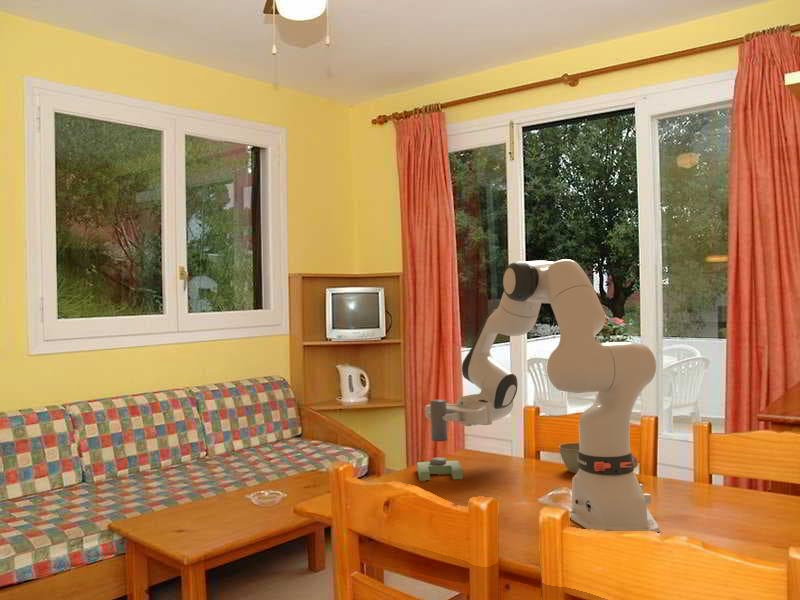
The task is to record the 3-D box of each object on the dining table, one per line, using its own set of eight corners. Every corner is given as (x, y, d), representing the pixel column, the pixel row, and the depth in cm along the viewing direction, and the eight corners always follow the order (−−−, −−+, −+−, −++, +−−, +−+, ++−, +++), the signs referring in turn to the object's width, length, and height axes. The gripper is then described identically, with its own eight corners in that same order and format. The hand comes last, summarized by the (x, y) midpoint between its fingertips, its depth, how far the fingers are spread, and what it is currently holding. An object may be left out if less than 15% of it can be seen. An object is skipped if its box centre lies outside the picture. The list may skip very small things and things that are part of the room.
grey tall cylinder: (448, 441, 200) (446, 401, 200) (432, 441, 200) (430, 402, 200) (446, 437, 205) (445, 399, 205) (430, 438, 205) (429, 399, 204)
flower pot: (592, 466, 208) (592, 442, 208) (598, 475, 198) (598, 449, 198) (557, 467, 209) (557, 442, 209) (562, 475, 199) (561, 450, 199)
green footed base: (463, 478, 200) (462, 466, 200) (420, 480, 199) (419, 467, 199) (457, 468, 212) (457, 456, 212) (417, 470, 211) (416, 458, 211)
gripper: (443, 396, 219) (410, 402, 209) (495, 402, 204) (462, 409, 194) (444, 417, 219) (411, 424, 209) (496, 425, 204) (463, 432, 194)
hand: (436, 417), depth 202 cm, fingers closed on grey tall cylinder, 4 cm apart
